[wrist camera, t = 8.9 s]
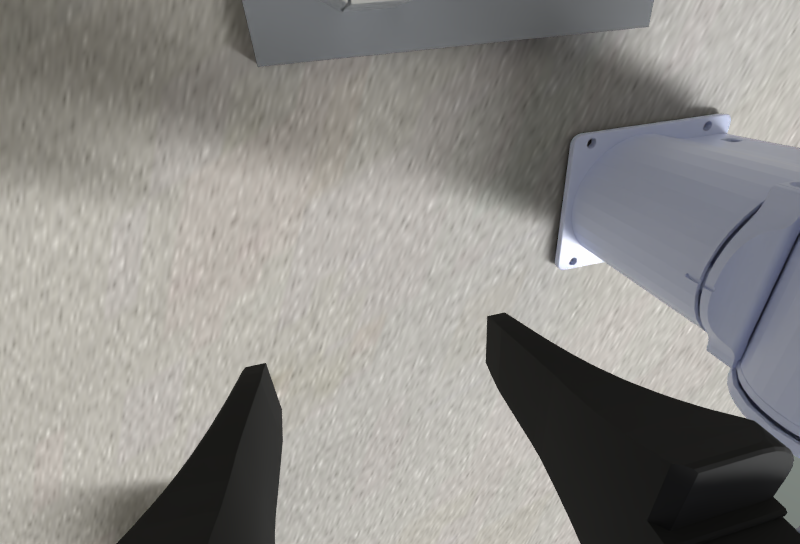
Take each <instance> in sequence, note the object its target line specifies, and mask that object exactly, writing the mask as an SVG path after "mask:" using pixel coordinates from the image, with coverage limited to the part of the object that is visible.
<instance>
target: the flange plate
mask: <svg viewBox="0 0 800 544" xmlns="http://www.w3.org/2000/svg"><path fill="white" fill-rule="evenodd" d="M653 2H654V0H411V1H409V2H406V3H404V4H402V5H400V6H397V7H395V8H387V9H375V10H364V11H352V12H342V9H341V10H340V11H337V10H335V9H334V8H332V7H330V6H328V5H326V4H325V3H323V2H321V1H319V0H242V3H243V7H244V11H245V15H246V19H247V24H248V28H249V32H250V36H251V41H252V45H253V49H254V53H255V57H256V62H257V66H258V67H260V66H270V65H280V64H290V63H300V62H309V61H319V60H329V59H339V58H348V57H358V56H368V55H378V54H388V53H397V52H407V51H417V50H427V49H437V48H446V47H456V46H466V45H476V44H486V43H495V42H505V41H515V40H525V39H534V38H544V37H554V36H564V35H574V34H583V33H593V32H603V31H613V30H623V29H632V28H642V27H649V22H650V17H651V12H652V7H653Z"/></svg>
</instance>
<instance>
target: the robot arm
mask: <svg viewBox="0 0 800 544" xmlns="http://www.w3.org/2000/svg"><path fill="white" fill-rule="evenodd" d="M730 122H731V118H730V116H729V115H728V114H722V113H719V114H712V115H706V116H699V117H692V118H685V119H678V120H671V121H664V122H657V123H650V124H643V125H636V126H629V127H622V128H615V129H608V130H601V131H594V132H587V133H580V134H577V135H576V136H575V137H574V138H573V139H572V141H571V144H570V150H569V158H568V166H567V173H566V181H565V189H564V196H563V204H562V212H561V219H560V227H559V235H558V242H557V250H556V258H555V265H556V267H558V268H559V269H561V270H566V269H571V268H576V267H581V266H586V265H591V264H596V263H601V262H605V263H607V264H608V265H610V266H611V267H613V268H614V269H616V270H617V271H619V272H620V273H621V274H623V275H624V276H626V277H627V278H629V279H630V280H632V281H633V282H634V283H636V284H637V285H639V286H640V287H642V288H643V289H645V290H646V291H648V292H649V293H650V294H652V295H653V296H655V297H656V298H658V299H659V300H661V301H662V302H663V303H665V304H666V305H668V306H669V307H671V308H672V309H674V310H675V311H677V312H678V313H679V314H681V315H682V316H684V317H685V318H687V319H688V320H690V321H691V322H692V323H694V324H695V325H697V326H698V327H700V328H701V329H703V330H704V331H706V332H707V333H708V337H709V341H708V345H707V351H708V352H710V353H711V354H712V355H714V356H715V357H716V358H718V359H719V360H721V361H722V362H723V363H725V364H726V365H727V366H729V367H730V370H729V373H728V381H727V385H728V389H729V393H730V395H731V397H732V399H733V401H734V403H735V404H736V406H737V407H738V408H739V410H740V411H741V412H742V414H743V415H744V416H745V417H746V418H747V419H746V418H742V417H738V416H734V415H730V414H726V413H722V412H718V411H714V410H710V409H707V408H703V407H700V406H697V405H694V404H690V403H687V402H684V401H681V400H677V399H674V398H671V397H669V396H666V395H663V394H660V393H657V392H654V391H652V390H649V389H647V388H644V387H641V386H639V385H636V384H634V383H631V382H629V381H626V380H624V379H622V378H619V377H617V376H615V375H613V374H611V373H608V372H606V371H604V370H602V369H600V368H598V367H596V366H594V365H592V364H590V363H588V362H586V361H584V360H582V359H580V358H578V357H577V356H575V355H573V354H571V353H569V352H567V351H566V350H564V349H562V348H560V347H559V346H557V345H555V344H554V343H552V342H550V341H549V340H547V339H546V338H544V337H542V336H541V335H539V334H538V333H536V332H534V331H533V330H531V329H530V328H528V327H527V326H525V325H523V324H522V323H520V322H519V321H517V320H516V319H514V318H513V317H511V316H509V315H508V314H506V313H500V314H496V315H491V316H487V343H486V364H487V366H488V368H489V371H490V373H491V375H492V377H493V380H494V382H495V384H496V386H497V388H498V390H499V392H500V393H501V395H502V397H503V398H504V400H505V401H506V403H507V405H508V406H509V408H510V410H511V411H512V413H513V414H514V416H515V418H516V419H517V421H518V422H519V424H520V426H521V427H522V429H523V430H524V432H525V434H526V435H527V437H528V438H529V440H530V442H531V443H532V445H533V446H534V448H535V450H536V452H537V453H538V455H539V457H540V459H541V461H542V463H543V465H544V467H545V469H546V471H547V473H548V475H549V477H550V479H551V481H552V483H553V485H554V487H555V489H556V491H557V493H558V495H559V497H560V499H561V502H562V504H563V506H564V508H565V510H566V512H567V514H568V516H569V519H570V521H571V523H572V525H573V528H574V530H575V532H576V534H577V537H578V539H579V541H580V543H581V544H800V526H799V527H798V528H796V529H795V528H794V527H793V526H791V524H789V523H788V522H787V521H786V520H785V519H784V518H783V516H785V515H786V514H787V511H786V508H784V507H783V506H782V505H781V504H780V503H779V502H778V501H777V500H776V499H775V498H774V497H773V496H774V495H775V493H776V492H777V490H778V488H779V487H780V486H781V484H782V483H783V482H784V480H785V479H786V477H787V476H788V474H789V472H790V470H791V468H792V466H793V461H794V458H793V455H795V456H796V457H798V458H800V148H798V147H792V146H787V145H782V144H777V143H772V142H766V141H761V140H756V139H751V138H746V137H741V136H735V135H730V134H727V132H728V129H729V125H730ZM705 123H706V124H705ZM704 125H705V126H704ZM703 127H704V128H703ZM590 139H591V140H592V141H591V144H590V145H589V146H588V147H587V143H588V141H589V140H590ZM572 258H573V260H572V261H571V262H570V260H571V259H572ZM282 442H283V436H282V409H281V406H280V403H279V400H278V397H277V394H276V391H275V388H274V385H273V382H272V380H271V377H270V374H269V371H268V368H267V365H266V363H264V364H259V365H254V366H250V367H245V369H244V370H243V371H242V373H241V375H240V377H239V379H238V380H237V382H236V384H235V386H234V388H233V389H232V391H231V393H230V395H229V396H228V398H227V400H226V402H225V403H224V405H223V407H222V408H221V410H220V412H219V413H218V415H217V417H216V418H215V420H214V422H213V423H212V425H211V426H210V428H209V430H208V431H207V433H206V434H205V436H204V437H203V438H202V440H201V441H200V443H199V444H198V446H197V447H196V449H195V450H194V452H193V453H192V455H191V456H190V457H189V459H188V460H187V462H186V463H185V464H184V466H183V467H182V468H181V470H180V471H179V472H178V474H177V475H176V476H175V478H174V479H173V480H172V481H171V483H170V484H169V485H168V486H167V488H166V489H165V490H164V491H163V493H162V494H161V495H160V496H159V497H158V498H157V500H156V501H155V502H154V503H153V504H152V505H151V507H150V508H149V509H148V510H147V511H146V512H145V513H144V514H143V516H142V517H141V518H140V519H139V520H138V521H137V522H136V523H135V525H134V526H133V527H132V528H131V529H130V530H129V531H128V532H127V533H126V534H125V535H124V536H123V537H122V538H121V539H120V540H119V541H118V543H117V544H275V519H276V507H277V496H278V486H279V475H280V465H281V454H282Z"/></svg>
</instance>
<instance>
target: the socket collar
mask: <svg viewBox="0 0 800 544" xmlns="http://www.w3.org/2000/svg"><path fill="white" fill-rule="evenodd" d="M319 1H321V2H323V3H325V4H326V5H328V6H330V7H332V8H334V9H335V10H337V11H340V10H341V9H342V12H352V11H364V10H375V9H387V8H395V7H397V6H400V5H402V4H404V3H406V2H409V1H411V0H319Z"/></svg>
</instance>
